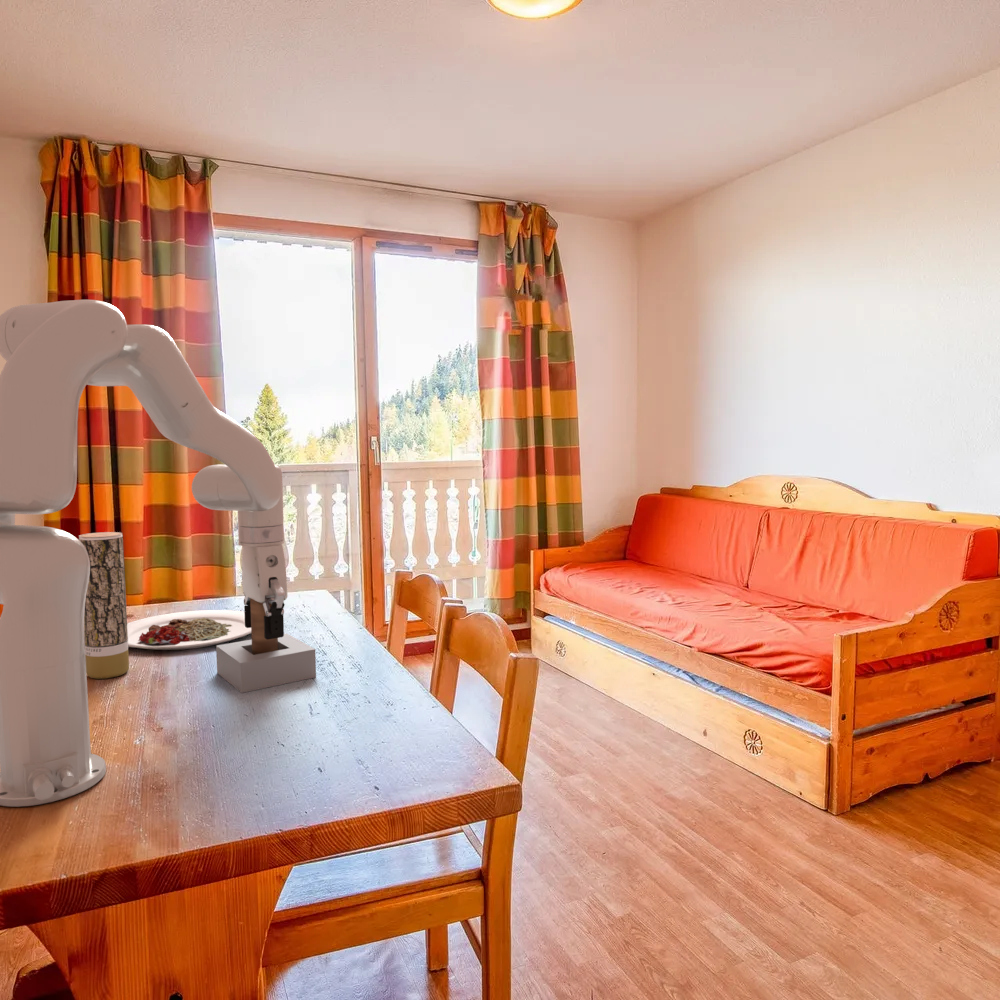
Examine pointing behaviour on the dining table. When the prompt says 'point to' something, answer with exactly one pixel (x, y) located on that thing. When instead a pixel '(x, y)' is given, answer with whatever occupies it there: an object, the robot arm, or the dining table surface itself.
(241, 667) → the socket
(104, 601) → the paper tube
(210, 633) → the plated food
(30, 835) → the dining table surface
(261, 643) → the peg
